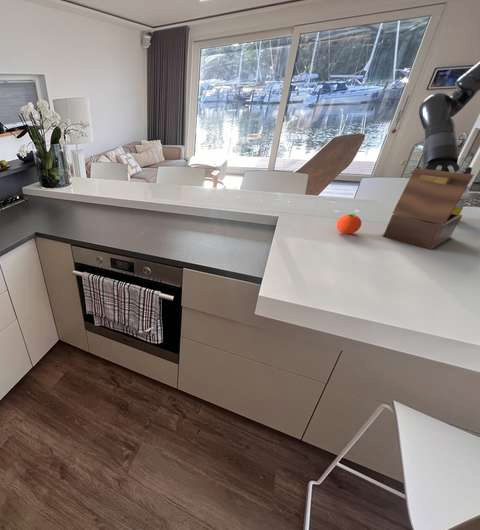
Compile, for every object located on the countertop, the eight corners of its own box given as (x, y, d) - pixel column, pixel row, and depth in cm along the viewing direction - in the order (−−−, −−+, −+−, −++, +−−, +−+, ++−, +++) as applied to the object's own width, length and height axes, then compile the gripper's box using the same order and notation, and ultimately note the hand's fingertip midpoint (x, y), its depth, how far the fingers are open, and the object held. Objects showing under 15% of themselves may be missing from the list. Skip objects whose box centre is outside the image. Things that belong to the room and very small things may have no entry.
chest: (402, 226, 104) (411, 205, 100) (450, 237, 94) (462, 215, 90) (383, 235, 99) (392, 214, 95) (431, 249, 89) (443, 226, 85)
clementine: (334, 226, 108) (340, 208, 104) (357, 230, 104) (364, 211, 101) (333, 235, 102) (339, 216, 99) (357, 238, 99) (364, 219, 95)
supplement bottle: (429, 214, 111) (445, 181, 104) (453, 217, 107) (472, 182, 101) (432, 220, 106) (449, 186, 100) (457, 223, 102) (477, 187, 96)
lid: (415, 168, 89) (409, 167, 87) (474, 174, 79) (468, 174, 77) (393, 213, 95) (386, 214, 93) (444, 224, 85) (439, 225, 83)
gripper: (418, 143, 92) (419, 191, 88) (479, 142, 87) (482, 193, 83) (404, 157, 99) (404, 202, 95) (460, 157, 94) (462, 204, 90)
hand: (441, 198), depth 89 cm, fingers closed on sauce bottle, 5 cm apart
